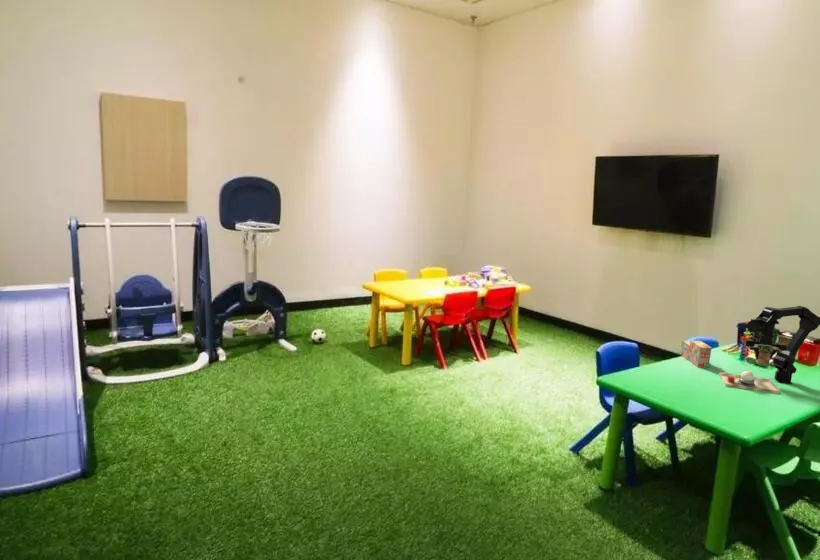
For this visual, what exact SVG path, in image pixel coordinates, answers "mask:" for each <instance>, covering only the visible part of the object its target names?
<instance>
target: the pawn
mask: <svg viewBox="0 0 820 560" xmlns="http://www.w3.org/2000/svg"><path fill="white" fill-rule="evenodd" d="M769 352H770V351H768V348H767V347H766V346H762V347H761V348H760V349H759V353H758V359H757V360H756V358H755V362H756V363H757V364H759V365H766V366H769V365H770V361H771V359H770V356H771V354H770V353H769Z"/></svg>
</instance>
